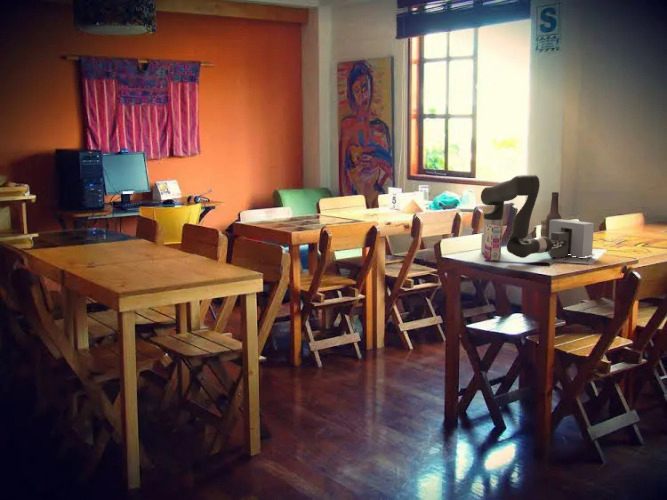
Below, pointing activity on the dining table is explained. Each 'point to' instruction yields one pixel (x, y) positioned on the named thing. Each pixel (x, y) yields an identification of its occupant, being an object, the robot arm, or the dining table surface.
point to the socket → (575, 235)
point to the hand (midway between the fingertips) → (561, 242)
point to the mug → (543, 228)
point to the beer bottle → (552, 212)
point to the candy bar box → (492, 242)
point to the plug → (559, 251)
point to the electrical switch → (526, 237)
